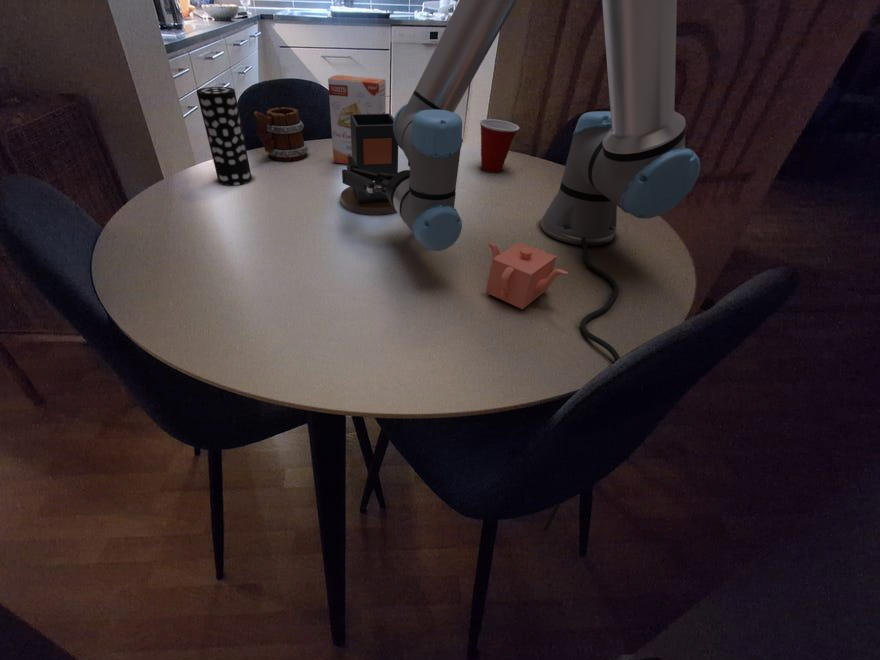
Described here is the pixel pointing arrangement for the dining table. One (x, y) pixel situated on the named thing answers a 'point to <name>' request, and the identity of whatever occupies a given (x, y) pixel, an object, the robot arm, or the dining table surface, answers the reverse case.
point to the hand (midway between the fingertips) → (380, 160)
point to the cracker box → (352, 108)
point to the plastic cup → (495, 143)
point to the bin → (373, 148)
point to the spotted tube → (225, 134)
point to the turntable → (364, 204)
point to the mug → (282, 134)
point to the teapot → (520, 273)
